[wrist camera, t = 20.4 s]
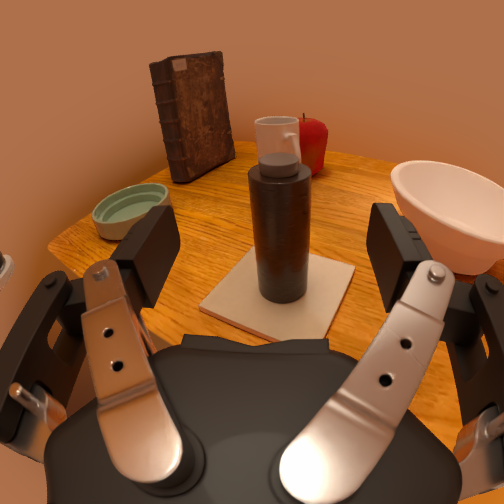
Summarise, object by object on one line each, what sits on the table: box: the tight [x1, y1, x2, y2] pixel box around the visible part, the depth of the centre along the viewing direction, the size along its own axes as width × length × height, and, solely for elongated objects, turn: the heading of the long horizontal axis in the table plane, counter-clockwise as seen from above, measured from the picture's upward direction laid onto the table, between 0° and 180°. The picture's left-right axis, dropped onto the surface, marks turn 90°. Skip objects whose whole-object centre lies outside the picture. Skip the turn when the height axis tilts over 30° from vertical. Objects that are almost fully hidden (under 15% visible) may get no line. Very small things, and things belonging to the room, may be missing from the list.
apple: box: [297, 113, 328, 176], centre depth 49 cm, size 9×8×12 cm
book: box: [149, 51, 235, 182], centre depth 52 cm, size 17×7×25 cm, turn 144°
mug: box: [255, 116, 301, 163], centre depth 43 cm, size 10×7×12 cm, turn 21°
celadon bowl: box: [92, 183, 172, 240], centre depth 43 cm, size 13×13×4 cm
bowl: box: [390, 161, 504, 275], centre depth 29 cm, size 21×21×8 cm
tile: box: [198, 245, 356, 343], centre depth 29 cm, size 12×12×1 cm
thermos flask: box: [248, 153, 311, 304], centre depth 24 cm, size 5×5×13 cm
